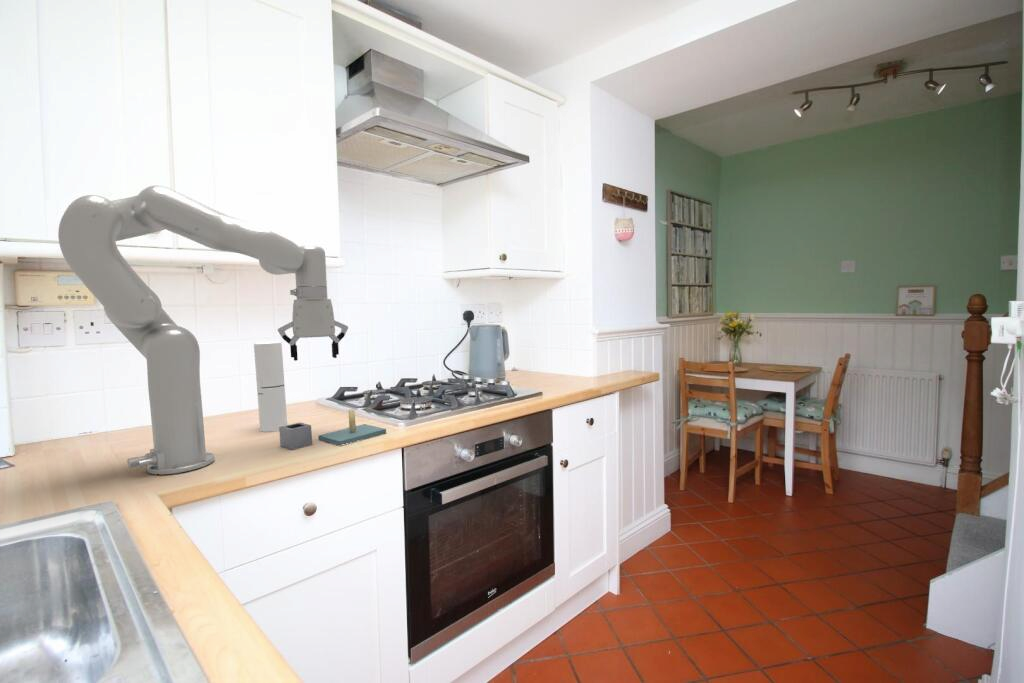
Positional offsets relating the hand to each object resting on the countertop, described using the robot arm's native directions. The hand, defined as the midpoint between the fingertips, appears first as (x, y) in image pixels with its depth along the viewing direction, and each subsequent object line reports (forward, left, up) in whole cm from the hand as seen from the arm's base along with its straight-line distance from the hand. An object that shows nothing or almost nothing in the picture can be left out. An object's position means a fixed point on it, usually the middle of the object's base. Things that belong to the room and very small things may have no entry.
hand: (315, 358), depth 129 cm
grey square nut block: (-8, -3, -21) cm, 23 cm away
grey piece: (-3, +20, -21) cm, 30 cm away
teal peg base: (+5, -8, -21) cm, 23 cm away
